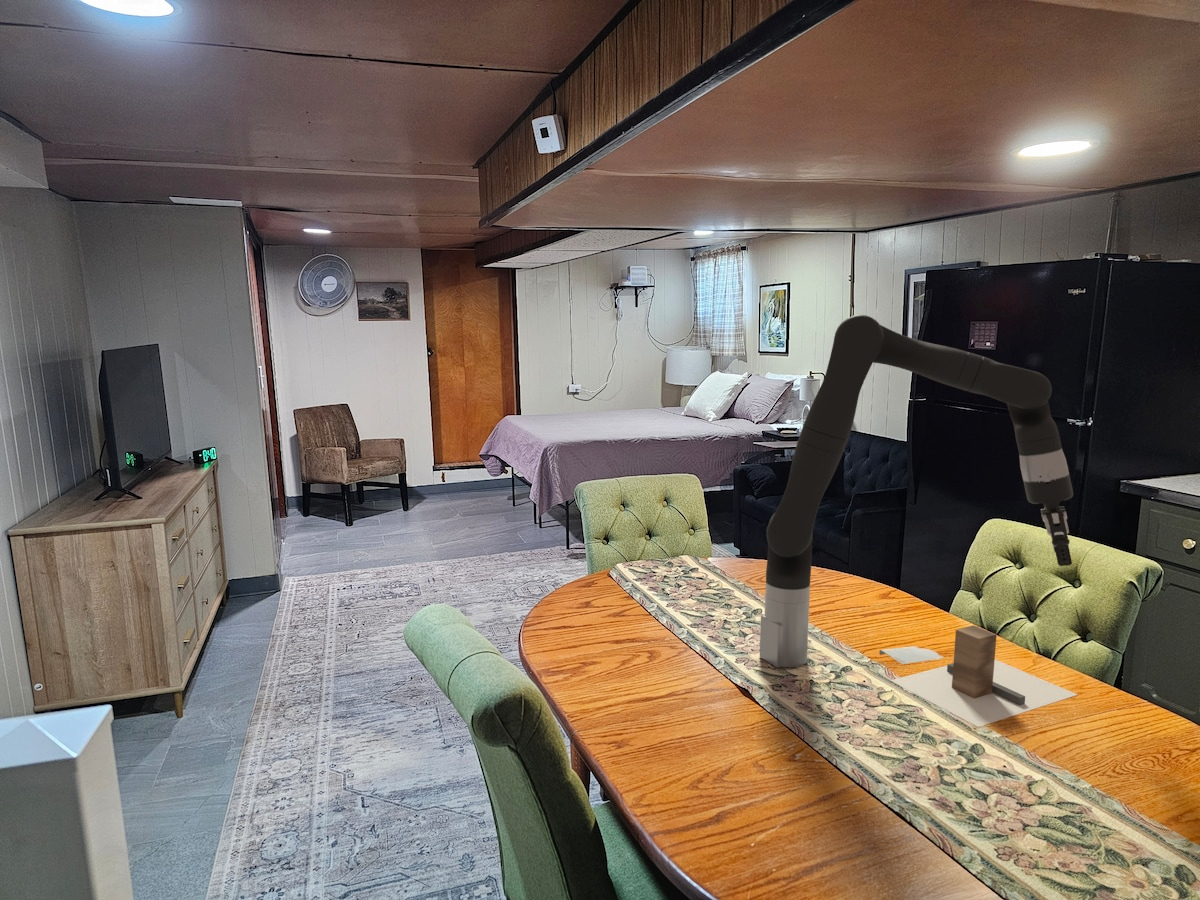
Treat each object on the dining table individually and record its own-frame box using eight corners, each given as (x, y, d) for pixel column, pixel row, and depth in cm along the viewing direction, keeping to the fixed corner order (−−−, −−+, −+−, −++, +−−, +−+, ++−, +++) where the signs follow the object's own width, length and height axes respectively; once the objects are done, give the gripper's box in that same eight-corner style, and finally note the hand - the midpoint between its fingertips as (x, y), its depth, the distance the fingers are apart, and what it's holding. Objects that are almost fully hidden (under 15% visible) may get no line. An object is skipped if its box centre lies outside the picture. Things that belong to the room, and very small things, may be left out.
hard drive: (903, 664, 156) (953, 658, 159) (879, 649, 164) (927, 643, 167) (902, 672, 156) (952, 665, 159) (879, 656, 164) (927, 650, 167)
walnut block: (974, 698, 141) (978, 638, 139) (951, 687, 146) (955, 629, 144) (991, 693, 143) (996, 634, 142) (969, 682, 148) (973, 625, 146)
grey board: (977, 732, 131) (978, 718, 131) (890, 685, 149) (890, 673, 149) (1077, 699, 143) (1078, 687, 143) (984, 659, 161) (985, 648, 160)
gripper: (1021, 472, 147) (1038, 551, 147) (1024, 485, 134) (1042, 571, 135) (1065, 465, 143) (1082, 546, 144) (1072, 478, 131) (1091, 567, 131)
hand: (1063, 558), depth 139 cm, fingers open, 8 cm apart
